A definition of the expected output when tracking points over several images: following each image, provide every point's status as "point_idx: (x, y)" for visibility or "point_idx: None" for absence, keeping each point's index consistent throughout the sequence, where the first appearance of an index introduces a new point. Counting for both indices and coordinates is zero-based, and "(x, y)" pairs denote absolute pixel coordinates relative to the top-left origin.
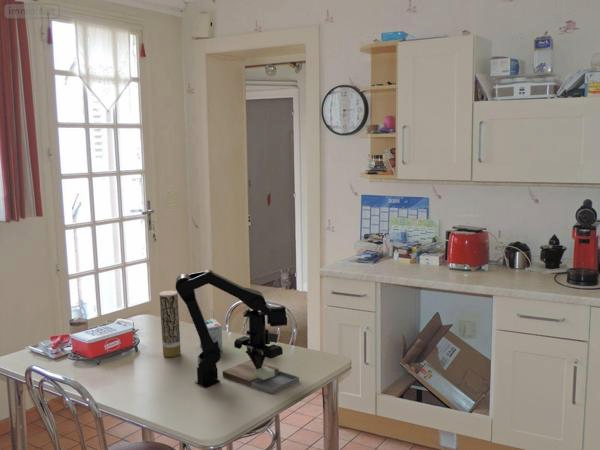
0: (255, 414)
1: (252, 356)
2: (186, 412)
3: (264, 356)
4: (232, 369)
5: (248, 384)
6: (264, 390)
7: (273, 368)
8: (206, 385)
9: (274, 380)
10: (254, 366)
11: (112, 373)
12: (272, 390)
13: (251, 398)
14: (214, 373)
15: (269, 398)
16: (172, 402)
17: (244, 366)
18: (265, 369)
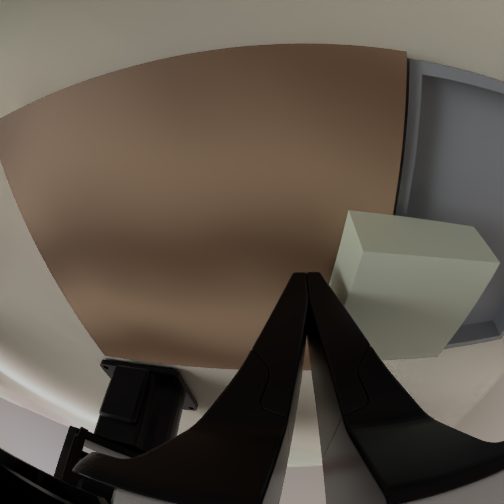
0: (474, 398)
1: (283, 477)
2: (301, 453)
3: (411, 420)
4: (106, 324)
5: None
6: (456, 331)
7: (356, 80)
8: (188, 406)
9: (454, 205)
10: (131, 191)
11: (16, 391)
12: (502, 330)
13: (425, 377)
14: (167, 424)
15: (492, 342)
16: None
17: (88, 249)
18: (412, 302)
